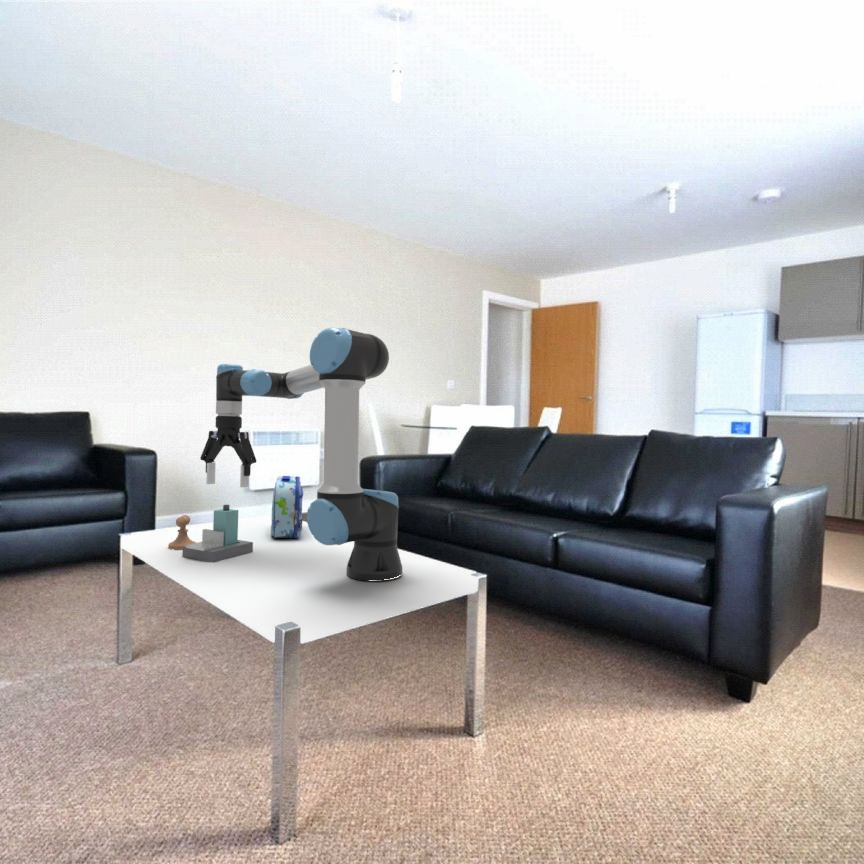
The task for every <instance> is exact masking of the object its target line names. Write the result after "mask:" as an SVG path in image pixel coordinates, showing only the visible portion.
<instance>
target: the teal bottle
mask: <svg viewBox="0 0 864 864" xmlns="http://www.w3.org/2000/svg"><path fill="white" fill-rule="evenodd" d="M212 530H216V531H222V532H224V538H223V546H228V545H232V544H236V543H237V540H239V539H238V538H239V537H238V534H239V532H238V531H239V509H233V508H230V504H223V506H222V508H221V509H214V510H213V526H212Z"/></svg>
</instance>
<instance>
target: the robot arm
mask: <svg viewBox="0 0 864 864" xmlns="http://www.w3.org/2000/svg"><path fill="white" fill-rule="evenodd" d="M310 345H311V346H310V350H309V361H310V364H309V365H306V366H302V367H299V368H296V369H293V370H290V371H287V372H282V373H280V372H271V371H265V370H263V369H255V368H252V369H247V370H246V369H245V370H244V367H243V366H242V365H241V364H232V363H227V364H226V363H222V364H219V365H218V366H217V368H216V376H215V379H216V381H215V382H216V384H215V385H216V386H215V387H216V389H215V390H216V391H215V392H216V393H215V395H216V396H215V399H216V400H215V414H216V417H215V428H216V429H217V430H209V431H208V437H207V440H206V443H205V446H204V448H203V451H202V452H201V455H200V458H199V459H200V460H201V461H204V463H205V474H206V483H205V484H206V485H214V484H216V461H215V460H216V458H217V456H218V455H219V454H220V452H221V451H222V449H223V448H224V447H231V448H232V449H234V451H235V453H236V455H237V456H238V458H239V460H240V461H241V465H240V477H239V487H240V488H247V487H250V485H249V483H250V482H249V481H250V479H249V478H250V476H251V465H253V464H257V458H256V456H255V453H254V450H253V447H252V444H251V441H250V437H249V436H250V435H249V432H248V431H241V428H243V426H242V425H243V418H242V417H241V415H242V414H243V396H244V397H262V398H263V397H265V398H279V399H280V398H281V399H288V400H291V399H294V400H295V399H299V398H301V397H302V396H303V395H304V394H305V393H308V392H312V391H317V390H319V389H324V428H323V429H324V433H323V434H324V435H323V436H324V438H323V439H324V440H323V441H324V442H323V450H324V451H323V483H322V485H321V486H319V488H318V489H317V493H316V498H315V499H314V500H313V501H312V502H311V503H310V504H309V505H310V506H308V508H307V511H306V521H307V527H308V530H309V532H310V534H311V535H313V537H314V539H315V540H316V541H317V542H318V543H320V544H322V545H324V546H333V545H334V546H335V545H336V546H340V545H341V546H342V545H344V544H346V543H350V542H351V543H352V542H353V547H352V551H351V553H350V556H349V559H348V562H347V565H346V575H347V577H349V578H350V579H353V580H356V579H357V581H362V580H384V579H390V578H394V577H397V576H399V575H401V574H402V575H403V564H402V560H401V557H400V553H399V550H398V530H399V529H398V526H399V525H398V524H399V508H400V506H399V496H398V495H397V494H396V493H395V492H392V491H387V490H386V491H385V490H380V489H379V490H377V489H367V488H362V487H361V486H360V485H359V481H358V479H359V470H358V469H359V439H360V437H359V436H360V435H359V434H360V433H359V431H360V430H359V429H360V428H359V427H360V421H359V420H360V389H362V387H364V385H365V384H366V380H370V379H371V380H372V379H374V378H377V377H378V376H381V375H383V373H384V372H385V371H386V370H387V368H388V364H389V361H390V352H389V349H388V347H387V346H386V344H385V343H384V341H383V340H382V339H381V338H379V337H378V336H376V335H374V334H372V333H371V334H370V333H366V332H365V333H364V332H359V331H357V330H353V329H352V330H351V329H349V328H348V329H347V328H344V327H331V326H330V327H326V328H324V329H323V330H321V331H320V332H318V334H317V336H316V337H314V339H313V340H312V343H311V344H310Z"/></svg>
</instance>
